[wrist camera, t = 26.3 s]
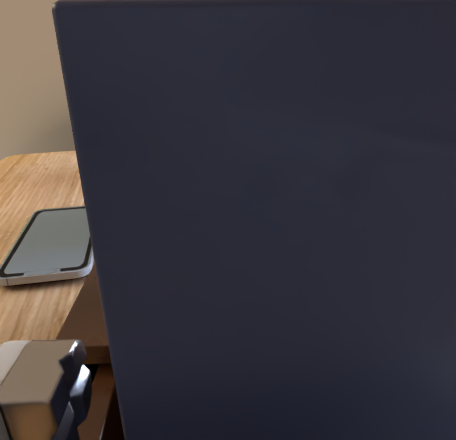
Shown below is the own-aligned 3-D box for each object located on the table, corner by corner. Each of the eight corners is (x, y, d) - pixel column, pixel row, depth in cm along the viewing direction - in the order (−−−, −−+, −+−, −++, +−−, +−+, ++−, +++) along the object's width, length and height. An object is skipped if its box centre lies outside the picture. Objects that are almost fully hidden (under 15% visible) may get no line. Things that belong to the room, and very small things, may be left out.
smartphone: (103, 204, 46) (89, 269, 32) (104, 211, 46) (91, 278, 33) (34, 209, 44) (-11, 280, 31) (36, 216, 45) (-8, 289, 31)
